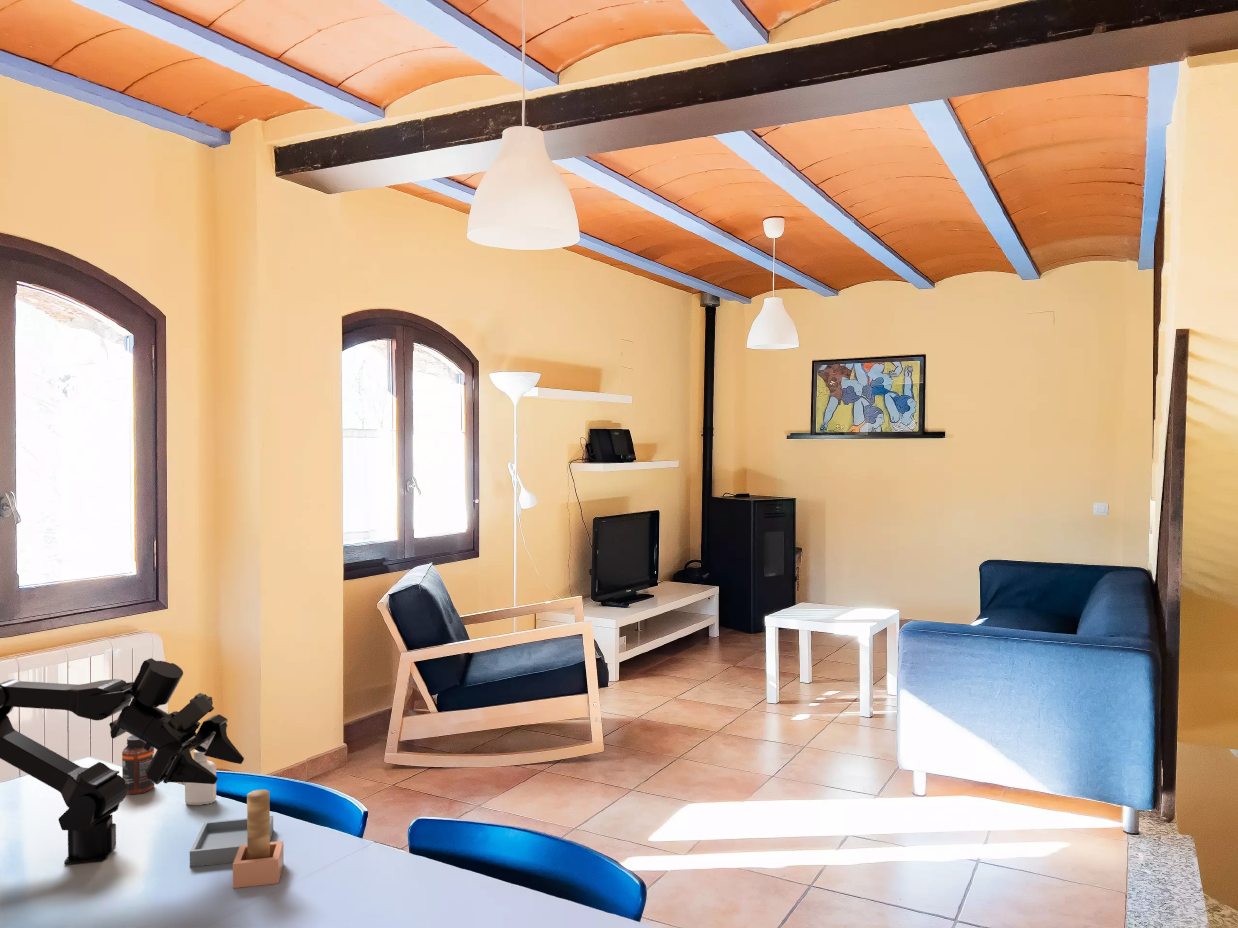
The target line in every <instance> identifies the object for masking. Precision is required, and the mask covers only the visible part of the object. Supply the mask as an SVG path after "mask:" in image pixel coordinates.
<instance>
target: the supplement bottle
mask: <svg viewBox="0 0 1238 928" xmlns="http://www.w3.org/2000/svg"><path fill="white" fill-rule="evenodd" d="M145 744H146V743H145V742H143V741H141V740H140V739H138V738H136V737H135V736H133V735H130V736H128V737H127V738H126V746H125V747H124V748H123V750H122V752H121V757H122V758H121V765H122V766H121V769H122V776H121V777H122V778H123V779H124V780H125V782H126V783H125V785H126V788H127V793H126V795H138V794H143V793H147V792H149V791H150V790H152V789H153V788H154V787H155V785H156V784H155V783H153V782H152V781H150V780H148V778H147V775H146V770H147V768H148V766H149V764H150V763H151V761H152V759H153V757H154V755H155V748H153V749H151V750H149V751H148V750H146V749H144V746H145Z"/></svg>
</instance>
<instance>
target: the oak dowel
mask: <svg viewBox="0 0 1238 928" xmlns="http://www.w3.org/2000/svg"><path fill="white" fill-rule="evenodd" d="M270 801H271V800H270V791H269V790H268V789H256V790H255V789H254V790H252V791H250V792H248V793H247V794H246V813H247V814H246V818H247V846H248V860H252V859H262V858H270V842H271V839H270V816H271V813H270V809H271V808H270V807H271V806H270Z"/></svg>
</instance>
